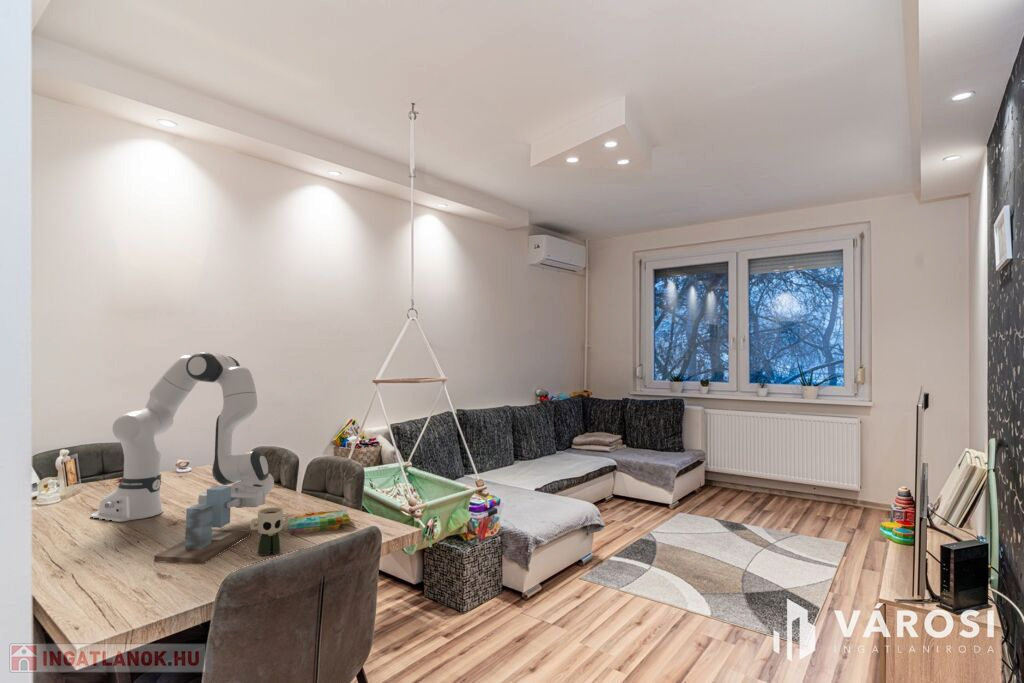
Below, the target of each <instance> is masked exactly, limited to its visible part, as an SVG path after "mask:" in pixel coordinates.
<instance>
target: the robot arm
mask: <svg viewBox="0 0 1024 683" xmlns="http://www.w3.org/2000/svg"><path fill="white" fill-rule="evenodd" d="M199 382H206V383H211V384H215V383H216V384H219V386H220V387H221V390H222V398H223V404H222V410H221V412H220V414H219V415H218V416H217V418H216V422H215V438H214V439H215V441H214V460H213V464H212V468H211V469H212V470H211V473H212V477H213V479H214V480H215V481H216V482H217V483H218V484H220V485H221V486H229V485H230V486H231V501H228V502H225V504H224V505H225V506H224V508H230V509H231V508H237V509H242V508H257V507H260V506H263V505H265V503H266V497H267V495H269V494H270V492H271V491H272V489H274V485H275V480H274V477H273V476H272V474H271V473H270V464H269V460H268V458H267V456H266V455H265V454H264V453H263V452H261V451H260V450H258V449H254V450H250V451H245V452H242V453H237V454H234V455H233V454H232V441H233V440H232V439H233V437H232V436H233V433H234V430H236V428H237V427H238V426H239V425H240V424H241V423H243V422H245V421H246V420H247V419H249V418H250V417H251V416H252V415H253V414H254V413H255V411H256V410H257V407H258V397H257V390H256V385H255V381H254V379H253V376H252V373H251V371H250V369H249V368H246V366H245V367H244V366H242V365H240V363H239V361H238V360H236V358H233V357H231V356H228V355H224V354H220V353H213V352H212V353H210V352H204V351H203V352H198V353H194V354H193V355H188V354H187V355H182V356H180V357H179V358H178V359H176V360H175V361H174V362H173V363H171V365H170V366H169V367H168V368H167V369H166V370H165V372H164V373H162V375H161V377H159V379H158V380H157V382H156V383H155V384H154V385H153V387H152V388H151V389H150V390H149V398H148V401H147V402H146V404H145V406H144V407H142V408H141V409H139V410H132V411H128V412H126V413H124V414H122V415H121V416H119V417H117V418H116V419H115V421H114V422H113V423H112V434H113V435H114V437H115V438H116V439H118V441H119V442H120V445H121V448H122V452H123V476H122V477H121V478H118V479H116V480H115V481H116V482H115V483H116V484H118V486H117V488H116V489H114V490H113V491H111V492H110V493H108V494H107V495H105V496H104V497H103V498H101V500H100V503H99V507H98V510H97V511H95V512H94V511H93V512H92V513H91V514H90V515H89V518H90V517H93V518H92V519H94V518H99V519H98V520H102V519H105V520H104V521H109V520H112V521H111V522H116V523H117V522H119V523H120V522H121V523H122V522H123V523H124V522H128V521H133V520H140V519H147V518H150V517H155V516H158V515H160V514H162V513H164V508H163V505H162V501H161V491H160V489H161V484H162V474H161V461H162V460H161V459H162V458H161V456H162V454H161V452H160V451H159V450H158V449H157V446H156V443H155V437H159V436H161V435H163V434H164V433H165V432H167V431H168V430H170V429H171V428H172V426H173V423H174V417H175V415H176V413H177V411H178V409H179V408H180V406H181V404H182V403H183V402H184V400H186V398H187V397H188V395H189V394H190V392H192V390H193V389H194V388H195V386H196V385H197V383H199ZM206 499H207V491H205V492H202V493H200V494H199V495H198V498H197V501H198V502H197V504H206Z"/></svg>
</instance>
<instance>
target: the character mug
mask: <svg viewBox="0 0 1024 683" xmlns="http://www.w3.org/2000/svg"><path fill="white" fill-rule="evenodd" d="M289 515H290V513H284V508H282V507H277V506H276V507H275V506H274V507H272V506H271V507H266V508H262V509H260V510H258V512H257V518H252V519H251V520H250V531H255V530H257V532H258V534H261V535H260V536H259V542H258V548H257V553H258V554H259V555H261V556H270V555H271V553H272V554H273V555H274V554H277V553H279V552H280V551H281V543H280V535H279V532H281V531H282V529H283V526H284V525H288V523H289ZM284 518H285V520H284ZM283 520H284V521H283ZM256 522H257V524H256V526H255V523H256Z"/></svg>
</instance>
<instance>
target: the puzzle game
mask: <svg viewBox="0 0 1024 683" xmlns="http://www.w3.org/2000/svg"><path fill="white" fill-rule="evenodd" d="M349 523H351V518H350V516H349V513H348V511H347V509H338V510H326V511H316V512H315V511H308V512H305V513H304V512H303V513H301V512H300V513H289V523H288V524H287V528H288V530H289V532H290V534H291V535H296V534H297V533H299V534H306V532H308V533H314V532H313V531H317V532H323V531H322V530H326V531H332V530H331V529H335V530H338V529H340V527H341V525H346V524H349ZM297 535H298V534H297Z"/></svg>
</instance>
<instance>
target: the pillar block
mask: <svg viewBox="0 0 1024 683" xmlns="http://www.w3.org/2000/svg"><path fill="white" fill-rule="evenodd" d="M206 492H207V499H206V504H209V505H213V516H212V528H217V529H218V528H219V529H220V528H223V527H224V526H226V525H228V524H230V523H231V508H224V506H225V505H224V504H225V502H228V501H231V485H215V486H212V487H210V488H207V489H206Z"/></svg>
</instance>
